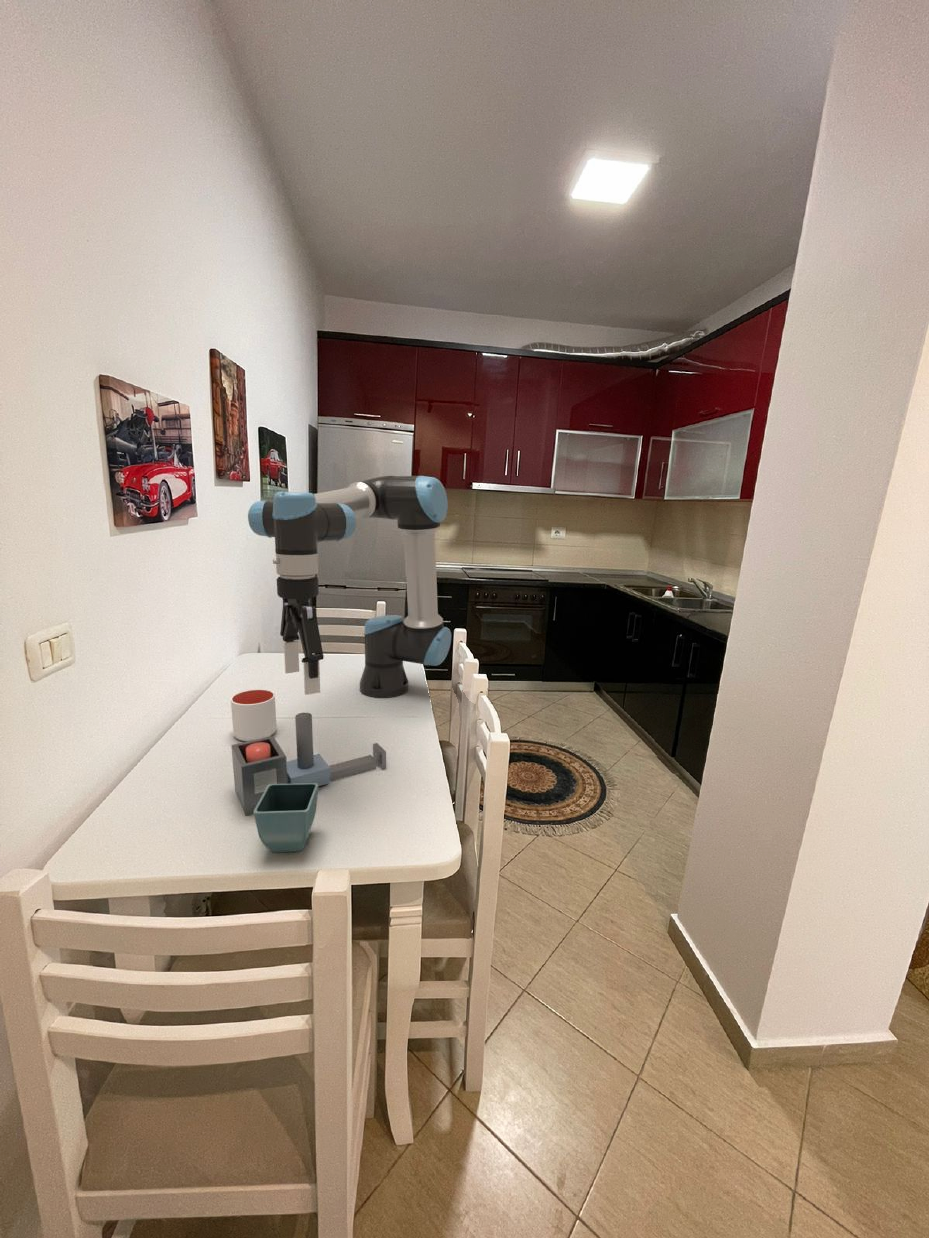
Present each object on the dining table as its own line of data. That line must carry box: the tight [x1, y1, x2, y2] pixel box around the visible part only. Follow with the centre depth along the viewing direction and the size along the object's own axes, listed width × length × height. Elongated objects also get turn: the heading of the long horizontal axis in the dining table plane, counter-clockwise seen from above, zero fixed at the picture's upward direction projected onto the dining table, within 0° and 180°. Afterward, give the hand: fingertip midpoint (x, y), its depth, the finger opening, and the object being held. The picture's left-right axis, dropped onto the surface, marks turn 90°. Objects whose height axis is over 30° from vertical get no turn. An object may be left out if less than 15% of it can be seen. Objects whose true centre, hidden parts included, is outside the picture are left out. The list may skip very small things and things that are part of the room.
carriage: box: [286, 712, 331, 787], centre depth 105 cm, size 8×7×15 cm
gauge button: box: [246, 742, 271, 763], centre depth 100 cm, size 4×4×5 cm
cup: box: [230, 689, 278, 742], centre depth 127 cm, size 10×10×10 cm
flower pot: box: [252, 783, 319, 853], centre depth 88 cm, size 9×9×9 cm
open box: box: [230, 735, 288, 816], centre depth 101 cm, size 8×10×10 cm
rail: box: [287, 742, 387, 784], centre depth 110 cm, size 22×5×4 cm, turn 123°
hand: (301, 682), depth 102 cm, fingers open, 13 cm apart
